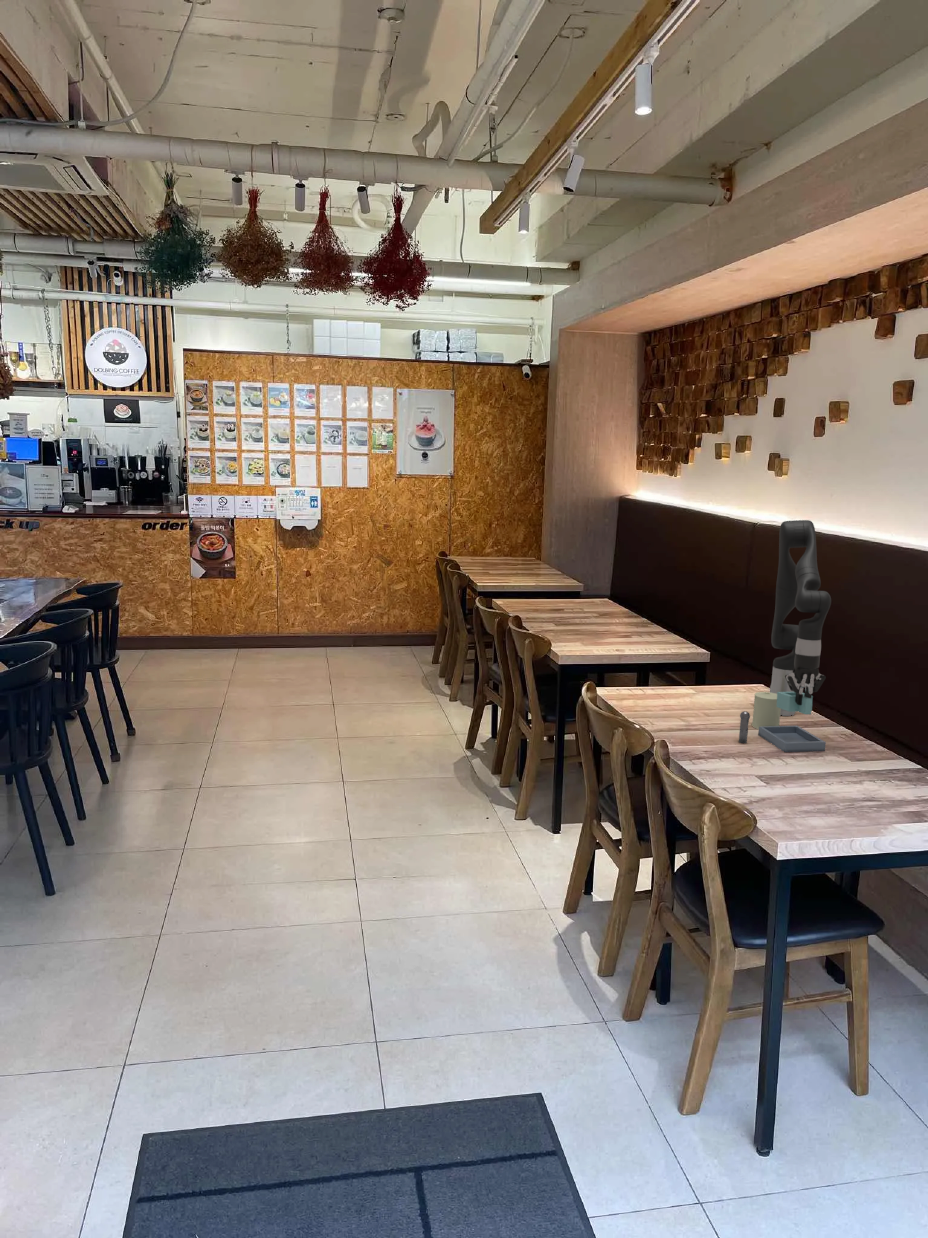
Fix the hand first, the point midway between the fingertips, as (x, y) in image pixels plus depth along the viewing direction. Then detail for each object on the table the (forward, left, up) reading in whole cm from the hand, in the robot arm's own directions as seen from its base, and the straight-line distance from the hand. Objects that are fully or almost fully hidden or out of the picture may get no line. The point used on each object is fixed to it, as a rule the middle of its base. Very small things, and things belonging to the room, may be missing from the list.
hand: (802, 704), depth 282 cm
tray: (-5, 0, -15) cm, 15 cm away
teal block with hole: (-3, 0, -3) cm, 4 cm away
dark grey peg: (-7, -16, -15) cm, 23 cm away
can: (-22, 0, -15) cm, 26 cm away
